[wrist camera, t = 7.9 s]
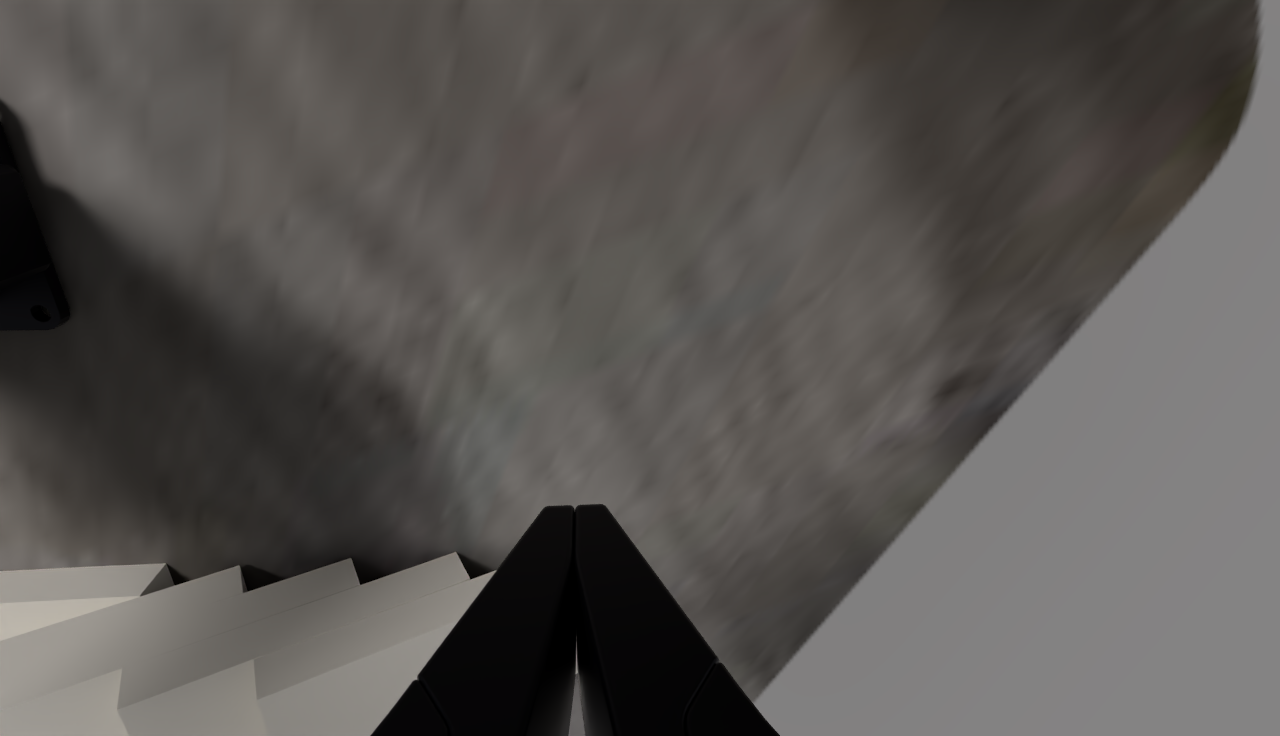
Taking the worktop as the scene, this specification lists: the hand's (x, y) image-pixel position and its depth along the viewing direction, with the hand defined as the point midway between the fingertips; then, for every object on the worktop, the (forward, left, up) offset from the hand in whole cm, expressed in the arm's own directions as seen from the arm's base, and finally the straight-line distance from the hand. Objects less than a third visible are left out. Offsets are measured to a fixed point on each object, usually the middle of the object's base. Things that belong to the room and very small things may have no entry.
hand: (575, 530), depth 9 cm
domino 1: (-1, -13, -11) cm, 17 cm away
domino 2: (-4, -13, -11) cm, 18 cm away
